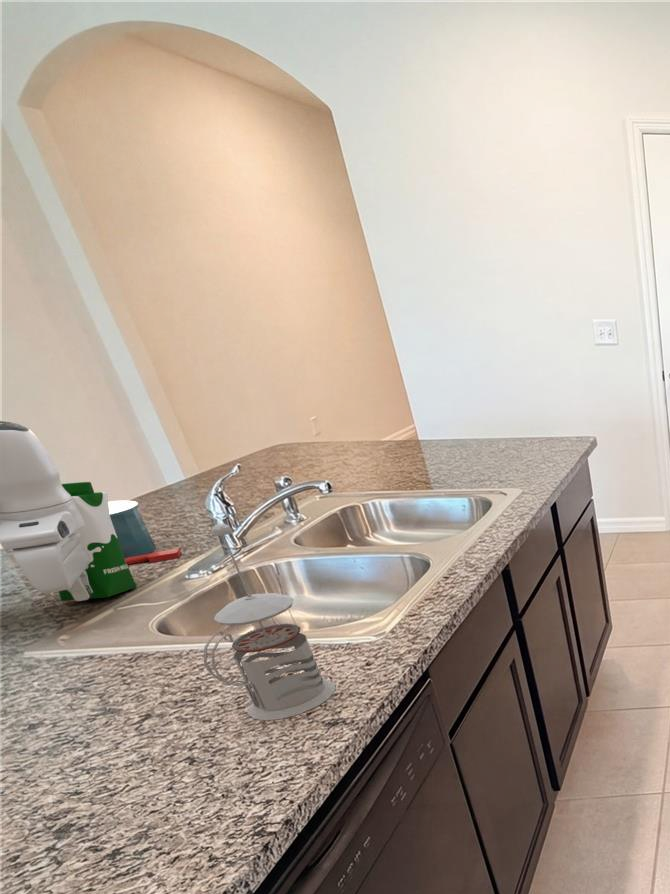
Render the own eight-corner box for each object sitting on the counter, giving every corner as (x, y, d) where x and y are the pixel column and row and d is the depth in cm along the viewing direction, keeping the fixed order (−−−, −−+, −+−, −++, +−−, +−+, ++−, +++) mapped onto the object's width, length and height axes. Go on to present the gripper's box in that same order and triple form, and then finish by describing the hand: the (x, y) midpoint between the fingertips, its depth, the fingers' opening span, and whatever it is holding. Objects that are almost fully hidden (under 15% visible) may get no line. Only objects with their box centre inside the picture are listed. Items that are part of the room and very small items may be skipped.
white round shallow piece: (51, 531, 125) (39, 508, 123) (45, 517, 133) (33, 495, 131) (145, 513, 135) (135, 492, 133) (134, 501, 143) (124, 481, 141)
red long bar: (76, 575, 128) (73, 569, 128) (80, 570, 131) (77, 564, 130) (179, 557, 136) (176, 551, 136) (181, 553, 139) (178, 547, 138)
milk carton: (110, 598, 116) (68, 485, 110) (49, 603, 114) (4, 488, 108) (146, 585, 124) (109, 479, 118) (90, 590, 122) (50, 483, 116)
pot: (79, 575, 128) (55, 530, 124) (69, 554, 139) (46, 512, 135) (163, 556, 137) (143, 513, 133) (147, 538, 147) (128, 497, 143)
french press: (351, 687, 91) (287, 516, 80) (261, 735, 81) (174, 549, 70) (307, 673, 94) (240, 507, 83) (215, 717, 85) (126, 537, 74)
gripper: (35, 509, 113) (74, 582, 119) (-6, 543, 97) (42, 624, 103) (85, 502, 116) (121, 573, 122) (53, 534, 101) (96, 613, 107)
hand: (85, 597), depth 112 cm, fingers closed
